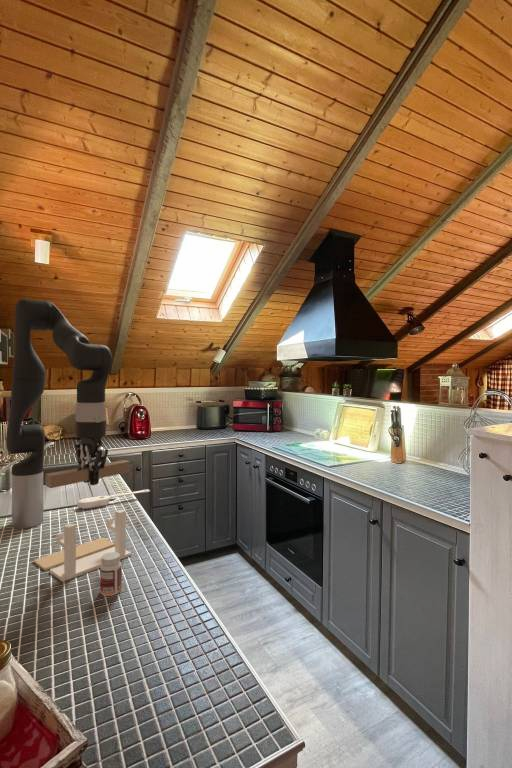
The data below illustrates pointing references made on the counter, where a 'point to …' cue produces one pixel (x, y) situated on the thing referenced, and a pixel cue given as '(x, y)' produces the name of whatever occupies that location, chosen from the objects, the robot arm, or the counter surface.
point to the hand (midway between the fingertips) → (90, 482)
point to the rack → (92, 561)
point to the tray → (81, 551)
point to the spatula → (101, 500)
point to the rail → (85, 474)
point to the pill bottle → (110, 574)
